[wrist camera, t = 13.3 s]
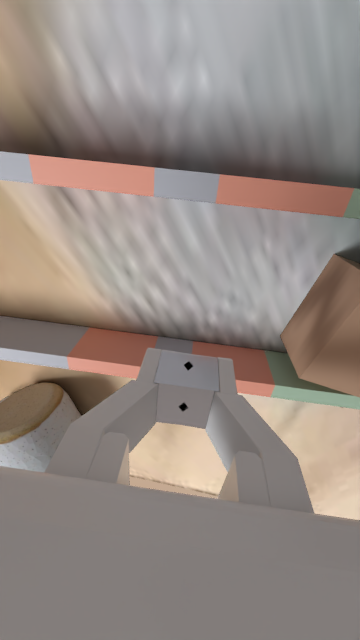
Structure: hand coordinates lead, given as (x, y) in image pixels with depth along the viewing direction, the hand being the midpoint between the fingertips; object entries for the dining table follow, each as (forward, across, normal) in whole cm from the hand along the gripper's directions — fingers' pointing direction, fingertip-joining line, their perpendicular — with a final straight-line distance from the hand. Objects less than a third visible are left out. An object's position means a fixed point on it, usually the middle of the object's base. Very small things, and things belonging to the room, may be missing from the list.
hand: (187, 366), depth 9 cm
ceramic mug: (+10, +14, +18) cm, 25 cm away
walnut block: (+10, -12, +2) cm, 16 cm away
